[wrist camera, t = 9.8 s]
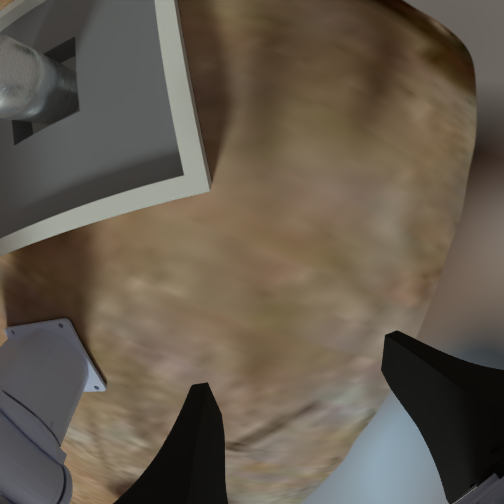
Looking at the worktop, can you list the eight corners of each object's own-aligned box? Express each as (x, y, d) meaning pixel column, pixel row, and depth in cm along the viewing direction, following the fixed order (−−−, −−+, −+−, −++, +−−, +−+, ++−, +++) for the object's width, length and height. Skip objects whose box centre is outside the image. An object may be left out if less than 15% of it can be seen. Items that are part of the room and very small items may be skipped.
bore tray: (9, 246, 16) (-28, 267, 12) (-11, 60, 11) (-44, 50, 6) (211, 183, 17) (209, 191, 13) (172, -30, 12) (165, -68, 7)
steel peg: (42, 134, 14) (-38, 131, 6) (35, 87, 12) (-37, 67, 5) (87, 109, 14) (13, 85, 6) (80, 61, 13) (15, 20, 5)
